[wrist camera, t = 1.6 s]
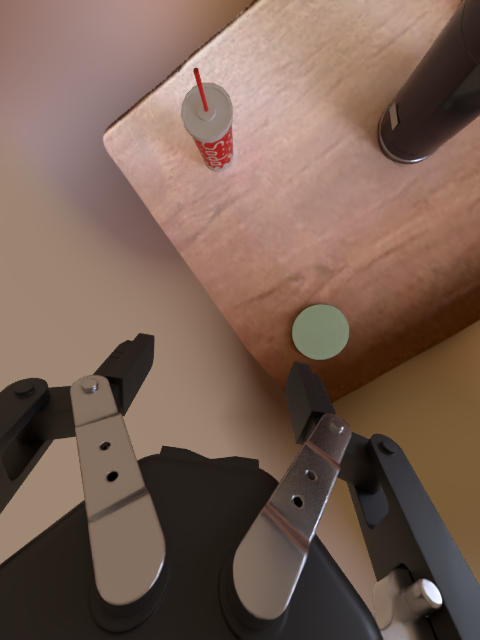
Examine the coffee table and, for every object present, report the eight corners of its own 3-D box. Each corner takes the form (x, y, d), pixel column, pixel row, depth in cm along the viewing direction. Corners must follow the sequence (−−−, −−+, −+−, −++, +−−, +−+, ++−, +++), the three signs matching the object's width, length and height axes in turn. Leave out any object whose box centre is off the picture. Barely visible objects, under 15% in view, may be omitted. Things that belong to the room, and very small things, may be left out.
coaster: (308, 294, 38) (309, 294, 37) (358, 320, 38) (360, 320, 37) (281, 343, 39) (282, 343, 38) (330, 368, 39) (331, 369, 38)
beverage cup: (194, 171, 37) (158, 96, 23) (204, 130, 36) (173, 27, 22) (232, 181, 37) (217, 112, 23) (243, 140, 36) (235, 43, 22)
